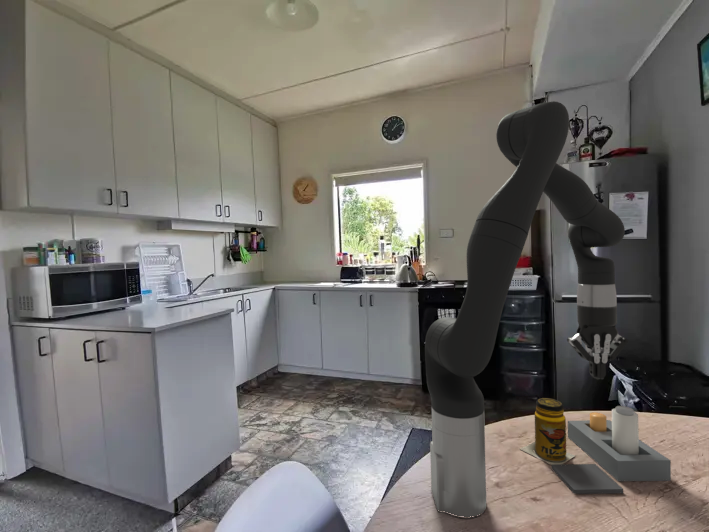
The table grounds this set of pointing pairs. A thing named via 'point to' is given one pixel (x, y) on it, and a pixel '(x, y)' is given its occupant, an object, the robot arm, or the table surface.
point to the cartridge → (625, 431)
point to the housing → (619, 466)
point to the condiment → (549, 433)
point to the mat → (586, 479)
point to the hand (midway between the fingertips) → (597, 378)
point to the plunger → (598, 422)
